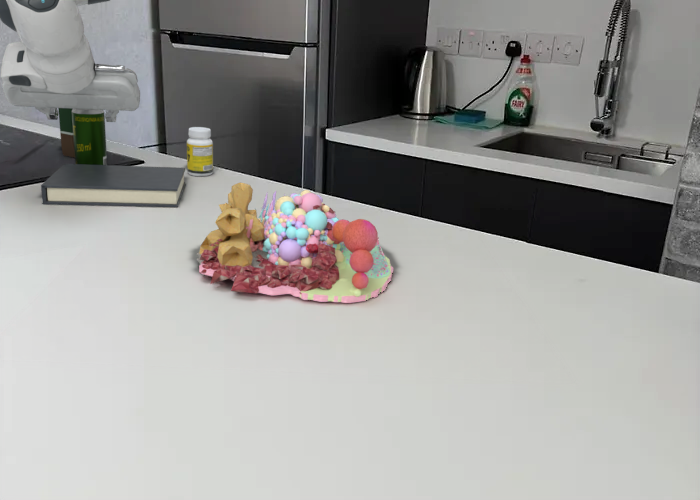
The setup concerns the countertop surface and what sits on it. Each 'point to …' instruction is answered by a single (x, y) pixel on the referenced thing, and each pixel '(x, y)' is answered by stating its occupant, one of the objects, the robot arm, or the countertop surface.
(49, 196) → the book
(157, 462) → the countertop surface
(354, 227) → the candy landscape model
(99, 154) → the beer can
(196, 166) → the supplement bottle
